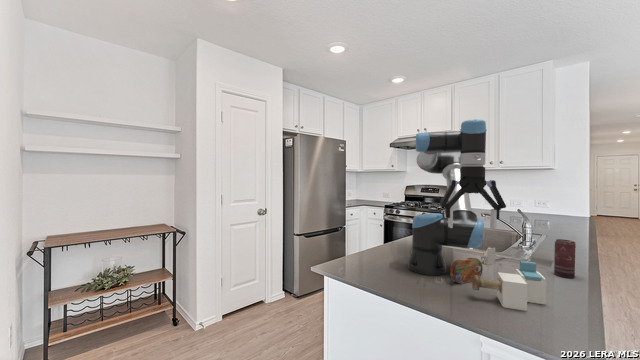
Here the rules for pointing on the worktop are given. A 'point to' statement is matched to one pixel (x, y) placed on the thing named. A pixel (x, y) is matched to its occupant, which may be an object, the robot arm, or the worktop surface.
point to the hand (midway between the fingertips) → (471, 228)
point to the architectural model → (489, 256)
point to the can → (564, 258)
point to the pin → (485, 283)
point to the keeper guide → (535, 289)
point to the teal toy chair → (529, 270)
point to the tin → (465, 270)
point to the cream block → (512, 291)
